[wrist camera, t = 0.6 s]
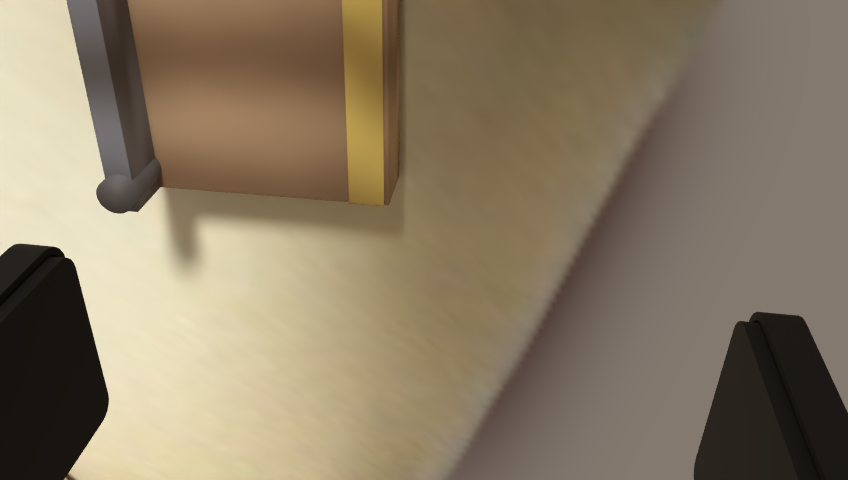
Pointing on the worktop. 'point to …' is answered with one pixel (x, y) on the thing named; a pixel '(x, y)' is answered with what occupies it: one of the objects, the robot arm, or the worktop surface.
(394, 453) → the worktop surface
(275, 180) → the dock
